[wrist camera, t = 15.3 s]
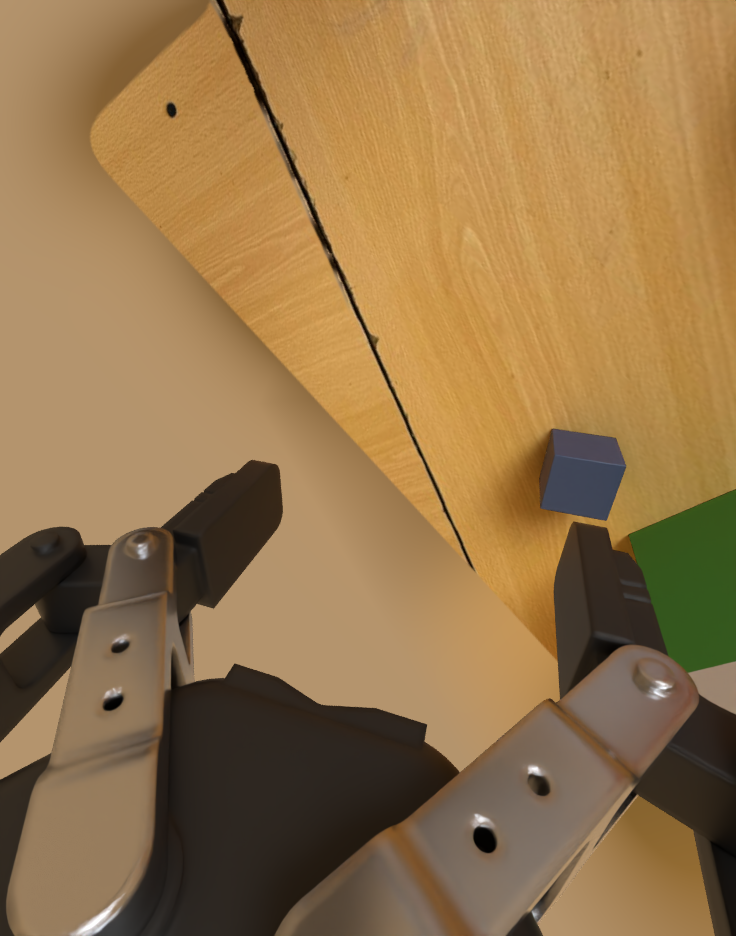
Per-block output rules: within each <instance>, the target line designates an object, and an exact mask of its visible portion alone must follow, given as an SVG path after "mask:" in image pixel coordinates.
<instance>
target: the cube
mask: <svg viewBox="0 0 736 936" xmlns="http://www.w3.org/2000/svg"><path fill="white" fill-rule="evenodd" d="M625 469H626V464H625V462H624V459H623V456H622V453H621V451H620V448H619V445H618V443H617V440H616V438H613V437H606V436H599V435H592V434H585V433H578V432H571V431H564V430H557V429H552V431H551V435H550V439H549V443H548V446H547V450H546V454H545V458H544V462H543V466H542V470H541V474H540V478H539V483H540V508H541V509H546V510H551V511H557V512H562V513H567V514H573V515H578V516H583V517H589V518H594V519H600V520H605V521H606V520H607V518H608V515H609V513H610V510H611V507H612V504H613V502H614V499H615V496H616V493H617V491H618V488H619V485H620V482H621V480H622V477H623V474H624V471H625Z"/></svg>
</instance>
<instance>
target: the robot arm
mask: <svg viewBox="0 0 736 936" xmlns="http://www.w3.org/2000/svg"><path fill="white" fill-rule="evenodd" d="M282 513H283V506H282V493H281V481H280V470H279V468H278V466H277V465H276V464H271V463H266V462H261V461H255V460H251V461H249V462H248V463H246V464H245V465H244V466H243V467H242V468H241V469H240V470H239V471H237V473H231V474H229V475H226V476H225V477H222V478H220V479H218V480H216V481H214V482H213V483H212V484H211V485H210V486H209V487H207V488H206V489H205V490H204V493H203V492H202V493H200V494H199V495H198V496H197V497H196V498H195V500H194V501H191V502H190V503H189V504H188V505H186V506H185V507H184V508H183V509H182V510H181V511H179V512H178V513H177V514H176V515H175V516H174V517H172V518H171V519H170V520H169V521H168V522H167V523H166V524H164V525H163V526H162V527H161V528H157V527H147V528H141V529H137V530H134V531H131V532H129V533H126V534H125V535H123V536H121V537H120V538H118V539H117V540H116V541H115V542H114V543H113V544H112V545H84V544H83V541H82V538H81V536H80V533H79V532H78V531H77V530H76V529H74V528H70V527H54V528H49V529H45V530H41V531H38V532H36V533H34V534H32V535H29V536H28V537H26V538H24V539H23V540H21V541H20V542H18V543H17V544H15V545H14V546H13V547H11V548H10V549H8V550H7V551H5V552H4V553H2V554H1V555H0V636H1V634H2V633H3V632H4V630H5V629H6V628H7V627H8V626H10V625H11V624H12V623H13V622H14V621H16V620H17V619H18V618H19V617H20V616H21V615H23V614H24V613H25V612H26V611H27V610H28V609H29V608H30V607H32V606H33V605H34V604H35V605H36V608H37V609H38V612H39V614H40V616H41V618H40V619H39V620H38V621H37V622H35V623H34V624H33V625H32V626H31V627H30V628H29V629H28V630H27V631H25V632H24V633H23V634H22V635H21V636H20V637H19V638H18V639H16V640H15V641H14V642H13V643H12V644H11V645H10V646H9V647H8V648H6V649H5V650H4V651H3V652H2V653H1V654H0V742H1V741H2V740H3V739H4V738H5V737H6V736H7V735H8V734H9V732H10V731H11V730H12V729H13V728H14V727H15V726H16V725H17V724H18V723H19V722H20V721H21V720H22V718H23V717H24V716H25V715H26V714H27V713H28V712H29V711H30V710H31V709H32V708H33V707H34V705H35V704H36V703H37V702H38V701H39V700H40V699H41V698H42V697H43V696H44V695H45V694H46V693H47V692H48V691H49V689H50V688H51V687H52V686H53V685H54V684H55V683H56V682H57V681H58V680H59V679H60V678H61V677H62V676H63V674H64V673H65V672H66V671H67V670H68V669H69V668H70V667H71V670H70V674H69V679H68V683H67V687H66V692H65V696H64V700H63V705H62V709H61V714H60V718H59V722H58V727H57V731H56V735H55V740H54V744H53V749H52V753H50V754H49V755H47V756H45V757H43V758H41V759H39V760H37V761H35V762H33V763H31V764H30V765H28V766H26V767H24V768H22V769H20V770H18V771H16V772H14V773H12V774H10V775H9V776H7V777H5V778H3V779H1V780H0V936H543V935H542V933H541V931H540V928H539V926H538V924H539V923H540V921H541V920H542V919H543V918H544V917H545V915H546V914H547V913H548V911H549V910H550V909H551V907H552V906H553V905H554V904H555V903H556V901H557V900H558V899H559V897H560V896H561V895H562V894H563V892H564V891H565V890H566V888H567V887H568V886H569V884H570V883H571V881H572V880H573V879H574V877H575V876H576V875H577V873H578V871H579V870H580V869H581V868H582V866H583V865H584V863H585V862H586V861H587V860H588V858H589V857H590V856H591V854H592V853H593V852H594V850H595V849H596V848H597V847H598V846H599V844H600V843H601V842H602V840H603V839H604V838H605V837H606V835H607V834H608V833H609V832H610V830H611V829H612V828H613V827H614V825H615V824H616V822H618V820H619V819H620V818H621V817H622V815H623V814H624V813H625V811H626V810H627V809H628V808H629V806H630V805H631V804H632V802H633V801H634V800H635V799H636V797H637V796H638V795H639V796H640V797H642V798H644V799H645V800H647V801H648V802H650V803H651V804H653V805H655V806H656V807H658V808H659V809H661V810H663V811H664V812H666V813H667V814H669V815H671V816H672V817H674V818H675V819H677V820H678V821H680V822H681V823H683V824H685V825H686V826H688V827H689V828H691V829H693V831H694V836H695V841H696V846H697V851H698V856H699V860H700V865H701V870H702V875H703V879H704V885H705V890H706V895H707V899H708V904H709V909H710V914H711V919H712V923H713V928H714V933H715V936H736V714H734V713H732V712H730V711H728V710H726V709H724V708H722V707H720V706H718V705H716V704H714V703H712V702H711V701H709V700H707V699H706V698H704V697H703V696H701V695H700V694H699V693H698V689H697V687H696V685H695V683H694V681H693V679H692V678H691V676H690V675H689V674H688V673H687V672H686V671H685V669H684V668H682V667H681V666H680V665H679V664H678V663H677V662H675V661H674V660H673V659H671V658H670V657H669V656H668V653H667V649H666V646H665V643H664V640H663V636H662V633H661V630H660V627H659V624H658V620H657V617H656V614H655V611H654V607H653V604H651V598H650V594H649V591H648V590H647V585H646V581H645V578H644V575H643V572H642V569H641V568H640V567H639V566H638V564H637V563H636V562H635V561H634V560H633V559H632V558H631V556H630V555H629V554H628V553H625V552H620V551H615V550H613V549H612V545H611V541H610V537H609V533H608V530H607V528H605V527H600V526H594V525H589V524H584V523H578V522H573V523H572V525H571V527H570V529H569V533H568V536H567V539H566V542H565V545H564V548H563V552H562V555H561V558H560V561H559V564H558V567H557V571H556V576H555V582H554V605H555V622H556V639H557V655H558V672H559V688H560V700H559V701H558V702H556V703H555V702H554V701H553V700H552V699H546V700H544V701H543V702H541V703H540V704H539V705H537V706H536V707H535V708H534V709H533V710H532V711H530V712H529V713H528V714H527V715H526V716H525V717H524V718H522V719H521V720H520V721H519V722H518V723H517V724H516V725H514V726H513V727H512V728H511V729H510V730H509V731H507V732H506V733H505V734H504V735H503V736H502V737H500V738H499V739H498V740H497V741H496V742H495V743H494V744H492V745H491V746H490V747H489V748H488V749H487V750H485V751H484V752H483V753H482V754H481V755H480V756H479V757H477V758H476V759H475V760H474V761H473V762H472V763H471V764H469V765H468V766H467V767H466V768H465V769H464V770H462V771H461V772H459V771H458V770H457V768H456V767H454V765H453V764H452V763H451V762H450V761H449V760H448V759H447V758H446V757H445V756H443V755H442V754H441V753H440V752H439V751H437V750H436V749H435V748H433V747H432V746H430V745H429V744H427V743H426V742H424V740H425V734H426V728H427V724H424V723H421V722H417V721H414V720H411V719H408V718H405V717H402V716H398V715H395V714H392V713H389V712H386V711H383V710H380V709H377V708H362V707H344V706H326V705H321V704H318V703H316V702H315V701H313V700H312V699H310V698H309V697H307V696H305V695H304V694H302V693H301V692H299V691H298V690H296V689H295V688H293V687H292V686H290V685H289V684H287V683H286V682H284V681H283V680H281V679H280V678H278V677H275V676H272V675H269V674H266V673H263V672H260V671H257V670H253V669H250V668H247V667H244V666H241V665H238V664H234V665H233V667H232V668H231V670H230V671H229V673H228V674H227V676H226V678H218V679H207V680H202V681H196V682H195V680H194V661H193V630H192V616H191V610H192V609H193V608H194V607H195V605H196V604H200V605H203V606H207V607H210V608H215V606H216V605H217V604H218V602H219V601H220V600H221V599H222V597H223V596H224V595H225V594H226V592H227V591H228V590H229V589H230V587H231V586H232V585H233V583H234V582H235V581H236V580H237V579H238V577H239V576H240V575H241V574H242V572H243V571H244V570H245V569H246V567H247V566H248V565H249V563H250V562H251V561H252V560H253V559H254V557H255V556H256V555H257V553H258V552H259V551H260V550H261V549H262V547H263V546H264V545H265V543H266V542H267V541H268V540H269V538H270V537H271V536H272V535H273V533H274V532H275V531H276V530H277V528H278V526H279V524H280V522H281V518H282Z"/></svg>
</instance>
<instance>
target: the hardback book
mask: <svg viewBox="0 0 736 936" xmlns="http://www.w3.org/2000/svg"><path fill="white" fill-rule="evenodd" d="M629 538H630V541H631V544H632V548H633V551H634V554H635V558H636V561H637V564H638V566H639V567H640V568H641V569H642V572H643V575H644V578H645V581H646V585H647V590H648V591H649V594H650V598H651V604H653V607H654V611H655V614H656V617H657V620H658V624H659V627H660V630H661V633H662V636H663V640H664V643H665V646H666V649H667V653H668V656H669V657H670V658H671V659H673V660H674V661H675V662H677V663H678V664H679V665H680V666H681V667H682V668H684V669H685V671H686V672H687V673H688V674H689V675H690V676H691V678H692V679H693V681H694V683H695V685H696V687H697V689H698V693H699V694H700V695H701V696H703V697H704V698H706V699H707V700H709V701H711V702H712V703H714V704H716V705H718V706H720V707H722V708H724V709H726V710H728V711H730V712H732V713H734V714H736V490H733V491H731V492H728V493H726V494H724V495H721V496H719V497H717V498H714V499H712V500H710V501H707V502H705V503H702V504H700V505H698V506H695V507H693V508H691V509H688V510H686V511H684V512H681V513H679V514H676V515H674V516H672V517H669V518H667V519H665V520H662V521H660V522H658V523H655V524H653V525H650V526H648V527H646V528H643V529H641V530H639V531H636V532H634V533H632V534H629Z"/></svg>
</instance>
